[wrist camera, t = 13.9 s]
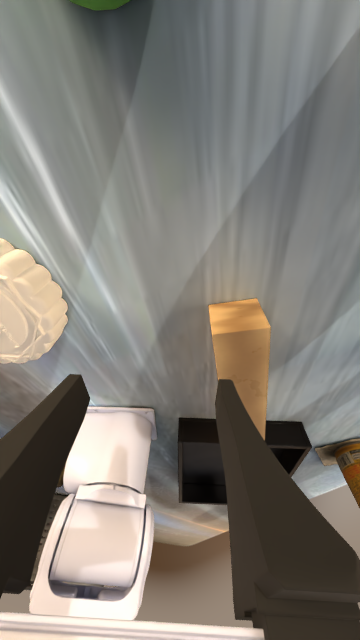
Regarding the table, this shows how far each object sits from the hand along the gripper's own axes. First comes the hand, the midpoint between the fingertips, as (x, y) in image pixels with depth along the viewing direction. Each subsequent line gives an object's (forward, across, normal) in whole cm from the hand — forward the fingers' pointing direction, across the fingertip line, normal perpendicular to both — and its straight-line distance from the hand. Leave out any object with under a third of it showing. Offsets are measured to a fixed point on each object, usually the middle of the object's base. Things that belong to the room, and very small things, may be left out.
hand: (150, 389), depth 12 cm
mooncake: (+11, +16, +1) cm, 19 cm away
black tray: (+10, -10, +32) cm, 35 cm away
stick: (+10, -8, +9) cm, 16 cm away
